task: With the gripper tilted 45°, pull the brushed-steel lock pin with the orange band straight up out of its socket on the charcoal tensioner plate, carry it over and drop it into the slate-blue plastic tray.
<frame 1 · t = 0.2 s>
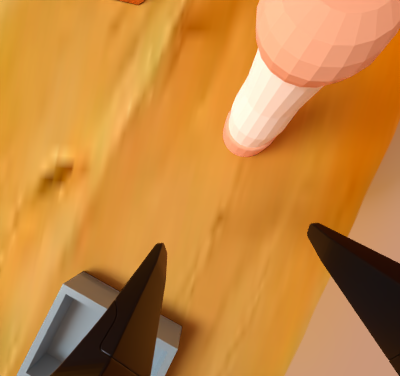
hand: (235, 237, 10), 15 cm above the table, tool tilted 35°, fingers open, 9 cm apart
tray: (111, 338, 24), on the table
pepper shaker: (245, 134, 25), on the table
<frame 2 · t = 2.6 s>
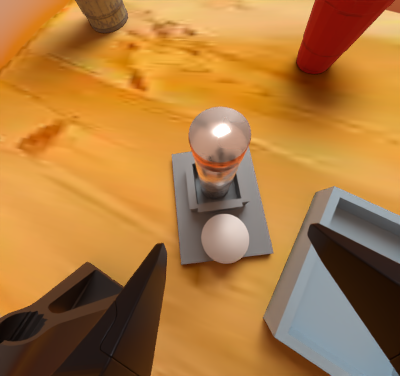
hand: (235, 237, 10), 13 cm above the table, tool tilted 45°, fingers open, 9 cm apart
tray: (346, 280, 19), on the table
thermos: (110, 20, 35), on the table
tensioner plate: (217, 199, 23), on the table
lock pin: (215, 185, 23), point 1 cm above the table, touching tensioner plate
plastic cup: (312, 62, 28), on the table
phone stand: (100, 299, 21), on the table
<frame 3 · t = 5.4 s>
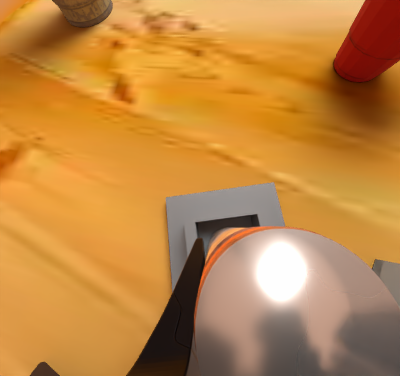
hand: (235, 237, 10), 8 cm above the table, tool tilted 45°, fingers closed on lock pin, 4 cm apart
thermos: (90, 11, 28), on the table
tensioner plate: (230, 266, 16), on the table
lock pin: (228, 247, 16), point 1 cm above the table, touching gripper, tensioner plate
plastic cup: (354, 66, 21), on the table
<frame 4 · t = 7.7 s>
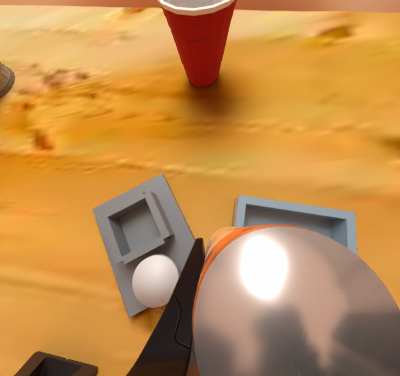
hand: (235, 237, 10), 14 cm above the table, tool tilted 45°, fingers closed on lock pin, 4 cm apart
tray: (279, 271, 21), on the table
tensioner plate: (149, 238, 23), on the table
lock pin: (227, 247, 16), point 7 cm above the table, touching gripper
plastic cup: (203, 75, 30), on the table
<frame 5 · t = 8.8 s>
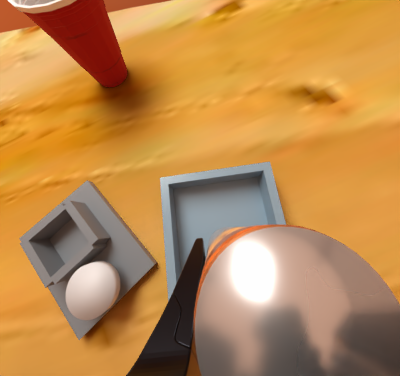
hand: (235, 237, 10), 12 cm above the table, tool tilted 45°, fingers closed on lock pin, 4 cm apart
tray: (223, 241, 21), on the table
tensioner plate: (89, 249, 22), on the table
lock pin: (228, 247, 16), point 5 cm above the table, touching gripper
plastic cup: (113, 75, 29), on the table
when the fingers open (9 cm above the table, at t = 10.0 s): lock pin drops 2 cm, resting on tray.
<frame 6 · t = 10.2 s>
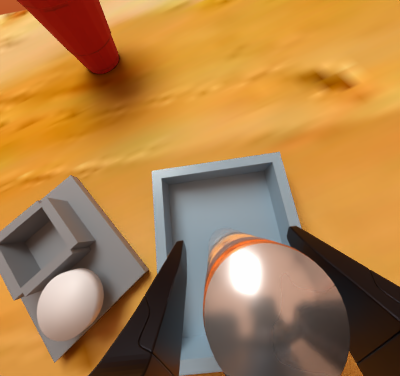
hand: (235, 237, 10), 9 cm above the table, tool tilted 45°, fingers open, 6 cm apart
tray: (225, 244, 18), on the table
tensioner plate: (71, 254, 19), on the table
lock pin: (226, 246, 17), point 1 cm above the table, touching tray
plastic cup: (104, 61, 27), on the table
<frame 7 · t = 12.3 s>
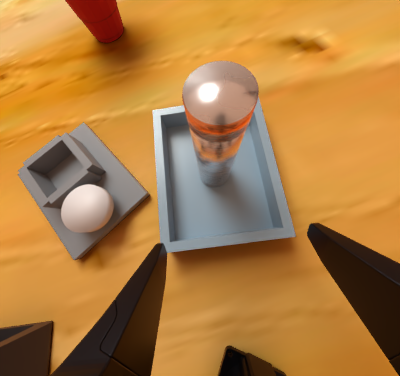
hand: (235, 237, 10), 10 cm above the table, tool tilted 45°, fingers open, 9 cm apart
tray: (214, 174, 22), on the table
tensioner plate: (84, 185, 23), on the table
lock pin: (214, 172, 21), point 1 cm above the table, touching tray
plastic cup: (110, 32, 30), on the table
phone stand: (17, 353, 18), on the table
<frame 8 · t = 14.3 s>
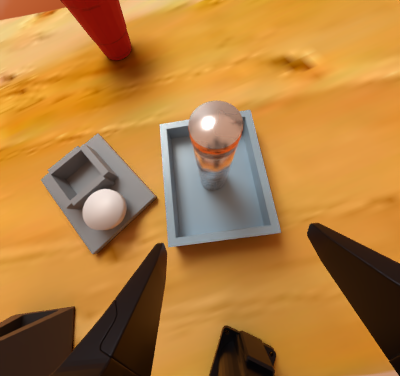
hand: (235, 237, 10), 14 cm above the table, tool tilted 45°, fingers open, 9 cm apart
tray: (213, 179, 25), on the table
tensioner plate: (99, 189, 26), on the table
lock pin: (213, 178, 24), point 1 cm above the table, touching tray
plastic cup: (119, 50, 34), on the table
phone stand: (44, 334, 21), on the table
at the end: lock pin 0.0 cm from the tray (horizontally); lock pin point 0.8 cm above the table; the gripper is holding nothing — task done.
